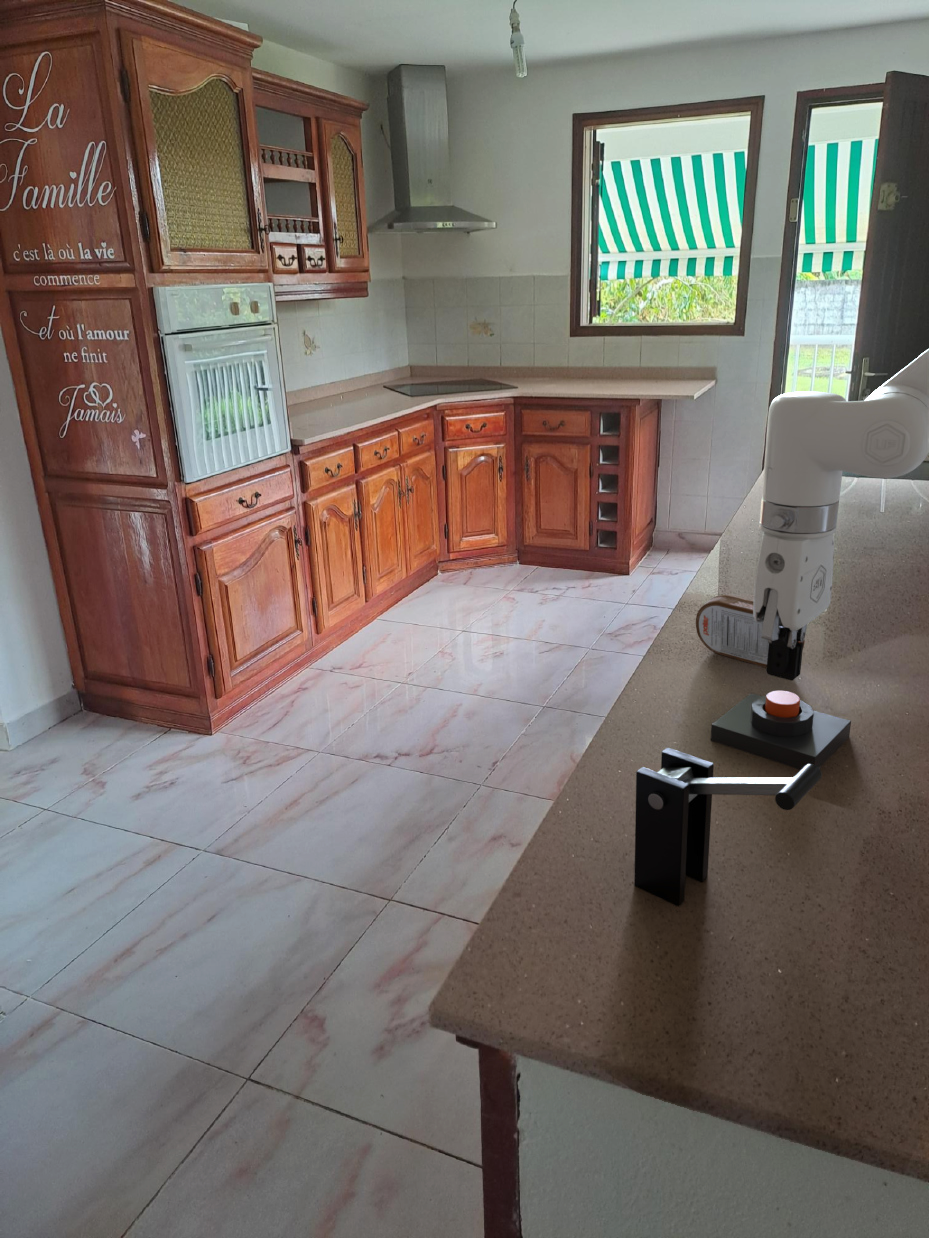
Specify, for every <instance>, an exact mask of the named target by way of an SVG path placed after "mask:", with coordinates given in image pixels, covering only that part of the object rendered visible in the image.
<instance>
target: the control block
mask: <svg viewBox="0 0 929 1238" xmlns="http://www.w3.org/2000/svg"><path fill="white" fill-rule="evenodd" d="M765 706H766V696H763V695H760V694H757V693H754V692H751V693H749V694H748V695H747V696H746V697H744V698H743V699H742V700H740V701H739V702H738V703H737V704H736V705H734V706H733V707H732V708H730V709H729V710H728V711H727V712H725V713H724V714H723V715H722V716H720V717H719V718H718V719H716V720H715V721H714V722H713V723H712V724H711V728H710V741H711V742H714V743H716V744H720V745H723V746H727V747H729V748H732V749H735V750H739V751H741V752H745V753H748V754H751V755H754V756H757V757H759V758H763V759H766V760H769V761H772V762H775V763H778V764H781V765H784V766H787V767H791V768H794V769H797V770H799V771H800V770H801V769H802V768H803V767H804V766H805V765H807V764H813V765H816V766H817V767H818V768H819V769H821V767H822V766H823V765H824V764H825V763H826V762H828V760H829V759H830V758H831V757H832V756H833V755H834V754H835V753H836V752H837V751H838V749H839V748H840V747H841V746H843V745H844V743H845V742H846V741H847V740H848V739H849V738H850V734H851V727H852V726H851V725H852V720H849V719H845V718H842V717H838V716H835V715H832V714H827V713H824V712H821V711H816V710H814V709H813V707H812V706H811V705H809V704H808V703H806V702H805V701H803V700H801V699H800V707H799V714H798V715H797V716H794V717H790V718H786V717H777V716H774V715H770V714H768V713H767V712H766V710H765Z"/></svg>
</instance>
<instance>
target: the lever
mask: <svg viewBox="0 0 929 1238" xmlns="http://www.w3.org/2000/svg"><path fill="white" fill-rule="evenodd" d="M656 772H657V773H660V774H663V775H666V776H668V777H671V778H674V779H676V780H679V781H682V782H685V783H687V784H689V802H690V801H691V800H692V799H693V798H695V797H696V796H697V795H698V794H712V795H719V796H720V795H724V796H725V795H726V796H727V795H728V796H775V797H774V801H775V803H776V805H777V806H778V808H780V809H781V810H784V811H791V810H793V809H794V808H795V807H796V806H797V804H798V803H799V802H801V800H803V799H804V797H805V796H806V795H807V794H808V793H809V792H810V791H811V789H812V788H814V786H815V785H816V784H817V783H818V782H819V781H821V779H822V776H823V773H822V770H821V768H818V767H817V766H816V765H813V764H807V765H805V766H804V767H803V768H802V769H801V770H799V771H798V772H797V773H796V774H794V776H793V777H713V778H694V775H693V772H692V769H691V767H674V768H662V769H661V768H660V769H659V770H658V771H656Z"/></svg>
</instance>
